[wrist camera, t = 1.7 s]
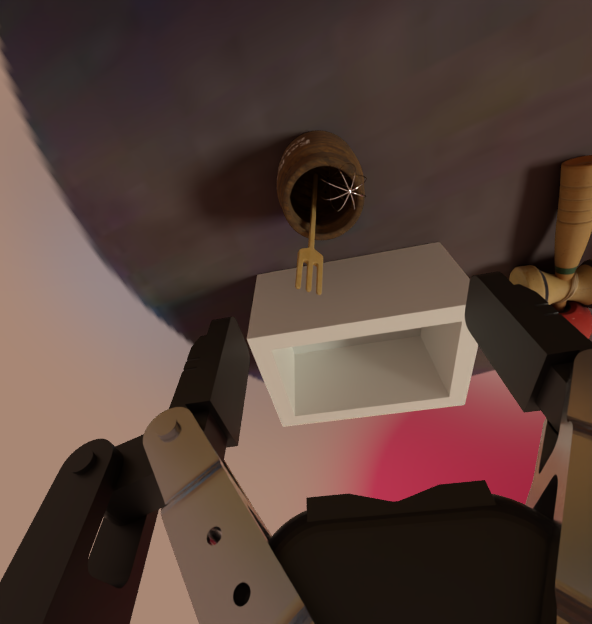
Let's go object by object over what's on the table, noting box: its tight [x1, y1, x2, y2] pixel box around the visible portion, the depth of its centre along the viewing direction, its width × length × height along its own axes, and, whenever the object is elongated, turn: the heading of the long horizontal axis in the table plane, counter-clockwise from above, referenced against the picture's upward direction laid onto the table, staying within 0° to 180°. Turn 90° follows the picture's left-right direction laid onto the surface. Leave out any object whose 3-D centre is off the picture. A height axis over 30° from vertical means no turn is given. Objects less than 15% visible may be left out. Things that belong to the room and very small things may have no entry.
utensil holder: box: [277, 131, 367, 295], centre depth 20 cm, size 6×6×12 cm
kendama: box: [509, 155, 592, 339], centre depth 28 cm, size 8×6×18 cm
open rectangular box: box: [247, 242, 478, 427], centre depth 29 cm, size 12×17×9 cm
